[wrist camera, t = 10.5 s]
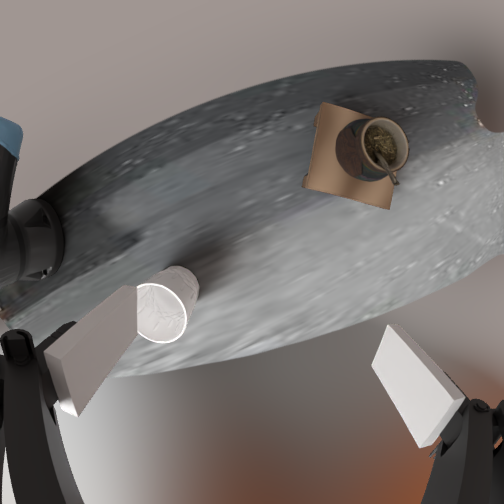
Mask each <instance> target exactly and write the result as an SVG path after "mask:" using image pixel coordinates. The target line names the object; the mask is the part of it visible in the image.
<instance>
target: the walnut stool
mask: <svg viewBox="0 0 504 504" xmlns="http://www.w3.org/2000/svg"><path fill="white" fill-rule="evenodd" d="M365 118H367V119H371V118H373V117H370V116H367V115H364V114H361V113H358V112H355V111H352V110H349V109H346V108H343V107H339V106H336V105H333V104H329V103H326V102H323V103H322V104H321V106H320V111H319V112H318V114H317V115H316V116H315V121H314V126H315V127H317V129H316V134H315V140H314V145H313V151H312V156H311V161H310V166H309V172H308V175H307V176H304V179H303V184H302V187H304V188H308V189H312V190H317V191H321V192H325V193H329V194H333V195H336V196H340V197H344V198H348V199H352V200H355V201H359V202H362V203H366V204H369V205H373V206H376V207H380V208H383V209H388V210H390V205H391V200H392V195H393V189H394V185H393V183H392V181H391V179H390V177H389V176H386V177H385V178H383V179H381V180H379V181H374V182H367V181H362V180H359V179H356V178H354V177H352V176H350V175H348V174H347V173H346V172H345V171H344V170H343V168H342V167H341V166H340V164H339V162H338V160H337V158H336V152H335V146H336V139H337V136H338V134H339V133H340V131H341V130H343V128H344V127H345V126H346V125H348V124H349V123H350V122H352V121H355V120H358V119H365ZM396 172H397V171H395V172H393V174H394V176H395V177H396Z"/></svg>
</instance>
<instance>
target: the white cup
mask: <svg viewBox="0 0 504 504" xmlns="http://www.w3.org/2000/svg"><path fill="white" fill-rule="evenodd" d="M136 288H137V331H138V333H139V334H141V335H142V336H143V337H145V338H146V339H148V340H151V341H153V342H158V343H168V342H172V341H175V340H176V339H178V338H179V337H180V336H181V335H182V334H183V333H184V331H185V329H186V326H187V324H188V322H189V319H190V317H191V315H192V312H193V310H194V307H195V304H196V301H197V298H198V295H199V284H198V281H197V278H196V277H195V276H194V275H193V273H192V272H191V271H190V270H188V269H186V268H184V267H181V266H170V267H168V268H166V269H165V270H163V271H160V272H158V273H157V274H155V275H153V276H152V277H150V278H149V279H147V280H146V281H144V282H143V283H141V284H140V285H139V286H137V287H136Z"/></svg>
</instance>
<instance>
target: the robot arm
mask: <svg viewBox="0 0 504 504" xmlns="http://www.w3.org/2000/svg"><path fill="white" fill-rule="evenodd" d="M22 139H23V131H22V128H21V127H20V126H19V125H18V124H16V123H14V122H12V121H10V120H7V119H5V118H3V117H0V289H2V288H4V287H6V286H8V285H10V284H12V283H14V282H16V281H18V280H30V281H40V280H44V279H46V278H48V277H50V276H52V275H53V274H54V273H55V272H56V271H57V270H58V268H59V266H60V264H61V261H62V257H63V250H64V239H63V232H62V227H61V224H60V221H59V218H58V216H57V214H56V212H55V210H54V209H53V208H52V206H51V205H50V204H49V203H47V202H46V201H44V200H42V199H29V200H25V201H23V202H22V203H20V204H19V205H17V206H16V207H14V208H12V209H11V210H9V204H10V197H11V191H12V185H13V180H14V175H15V171H16V166H17V162H18V161H19V152H20V147H21V143H22ZM137 335H138V331H137V288H136V287H132V286H127V285H123V286H122V287H120V288H119V289H118V290H117V291H115V292H114V293H113V294H112V295H110V296H109V297H108V298H107V299H105V300H104V301H103V302H102V303H100V304H99V305H98V306H97V307H95V308H94V309H93V310H92V311H90V312H89V313H88V314H87V315H86V316H84V317H83V318H82V319H81V320H80V321H78V322H75V321H72V322H69V323H66V324H64V325H62V326H61V327H60V328H58V329H57V330H56V332H54V333H52V334H51V336H49V337H47V338H46V339H45V340H44V341H43V342H41V343H40V344H39V345H38V346H37V347H35V348H34V344H33V340H32V336H31V334H30V333H29V332H28V331H25V330H23V329H14V330H10V331H7V332H5V333H4V334H3V335H2V336H1V338H0V343H1V346H2V350H3V353H4V355H0V504H2V475H3V463H4V454H5V447H6V453H7V461H8V468H9V473H10V479H11V484H12V488H13V493H14V497H15V500H16V504H84V502H83V500H82V497H81V495H80V492H79V490H78V487H77V485H76V482H75V480H74V477H73V474H72V471H71V468H70V465H69V462H68V459H67V455H66V452H65V449H64V445H63V441H62V438H61V434H60V430H59V425H58V421H57V416H56V411H55V408H54V406H53V405H54V404H55V402H56V401H57V400H59V403H60V406H61V408H62V410H64V411H66V412H68V413H70V414H72V415H74V416H76V417H79V416H80V414H81V413H82V411H83V410H84V408H85V407H86V405H87V404H88V402H89V401H90V400H91V398H92V397H93V395H94V394H95V392H96V391H97V390H98V388H99V387H100V385H101V384H102V383H103V381H104V380H105V378H106V377H107V376H108V374H109V373H110V371H111V370H112V369H113V367H114V366H115V365H116V363H117V362H118V360H119V359H120V358H121V356H122V355H123V354H124V352H125V351H126V350H127V348H128V347H129V346H130V344H131V343H132V342H133V340H134V339H135V338H136V336H137ZM372 368H373V369H374V371H375V372H376V374H377V376H378V377H379V379H380V381H381V382H382V384H383V386H384V387H385V389H386V391H387V392H388V394H389V396H390V398H391V399H392V401H393V403H394V404H395V406H396V408H397V410H398V411H399V413H400V415H401V416H402V418H403V420H404V422H405V423H406V425H407V427H408V429H409V430H410V432H411V434H412V435H413V437H414V439H415V441H416V443H417V445H418V447H419V448H422V447H425V446H429V445H432V444H433V443H434V441H435V440H436V439H437V438H438V436H439V435H440V436H441V438H442V441H441V442H440V443H439V444H438V445H437V447H436V448H435V449H434V450H433V451H432V453H431V454H430V455H429V457H431V456H432V455H433V454H434V453H436V456H435V457H434V459H435V460H434V464H433V468H432V471H431V475H430V478H429V481H428V484H427V488H426V490H425V493H424V496H423V499H422V502H421V504H504V400H502V401H501V402H500V403H499V405H498V406H497V408H496V409H490V407H489V406H488V404H486V403H485V402H484V401H482V400H480V399H472V400H471V401H470V400H469V399H468V397H467V396H466V395H465V394H464V393H463V392H462V391H461V390H460V389H459V387H458V386H457V385H455V383H454V382H453V381H452V380H451V378H450V377H449V376H448V375H447V374H446V373H445V372H444V371H442V370H441V369H440V368H439V367H438V365H437V364H436V363H435V362H434V361H433V360H432V359H431V358H430V357H429V356H428V355H427V354H426V353H425V352H424V351H423V350H422V348H421V347H420V346H419V345H418V344H417V343H416V342H415V341H414V340H413V339H412V338H411V337H410V336H409V335H408V334H407V333H406V332H405V331H404V330H403V329H402V328H401V327H400V326H399V325H395V324H388V325H387V328H386V330H385V333H384V336H383V339H382V341H381V343H380V346H379V349H378V351H377V353H376V356H375V358H374V361H373V363H372ZM501 436H502V439H503V441H502V442H501V443H500V445H499V446H498V447H497V448H496V449H495V448H494V445H495V444H496V442H497V441H498V440H499V438H500V437H501Z"/></svg>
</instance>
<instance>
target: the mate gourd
mask: <svg viewBox="0 0 504 504" xmlns="http://www.w3.org/2000/svg"><path fill="white" fill-rule="evenodd" d="M408 143H409V142H408V139H407V136H406V134H405V132H404V131H403V129H402V128H401V127H400V126H399V125H398V124H397V123H396V122H395V121H393V120H391V119H389V118H387V117H381V116H380V117H374V118H371V119H367V118H365V119H358V120H355V121H352V122H350V123H349V124H348V125H346V126H345V127H344V128H343V130H341V131H340V133H339V134H338V136H337V139H336V146H335V152H336V158H337V160H338V162H339V164H340V166H341V167H342V168H343V170H344V171H345V172H346V173H347V174H348V175H350V176H352V177H354V178H356V179H359V180H362V181H367V182H374V181H379V180H381V179H383V178H385V177H386V176H389V177H390V179H391V181H392V183H393V185H399V182H398V181H397V180H396V177H395V176H394V174H393V172H395V171H398V170H399V169H401V168H402V167H403V166H404V165H405V163H406V161H407V159H408V156H409V148H408V147H409V146H408Z"/></svg>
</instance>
